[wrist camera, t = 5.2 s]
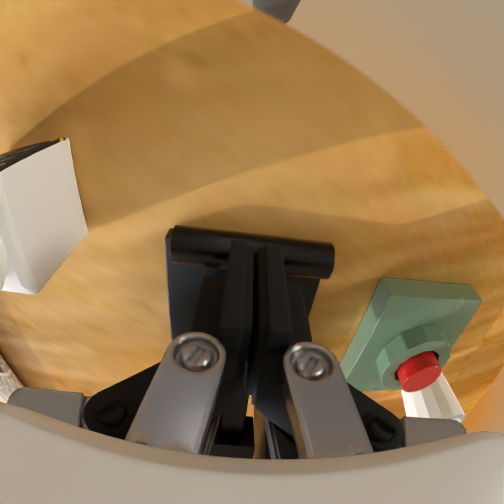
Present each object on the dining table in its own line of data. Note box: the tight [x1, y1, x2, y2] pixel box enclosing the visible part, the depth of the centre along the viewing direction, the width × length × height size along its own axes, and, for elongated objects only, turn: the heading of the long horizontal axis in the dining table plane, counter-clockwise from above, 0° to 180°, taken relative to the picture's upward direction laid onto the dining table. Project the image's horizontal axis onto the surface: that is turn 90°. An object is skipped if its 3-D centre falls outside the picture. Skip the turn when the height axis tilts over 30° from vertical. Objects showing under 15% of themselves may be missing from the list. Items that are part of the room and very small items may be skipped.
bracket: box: [165, 228, 320, 459], centre depth 17 cm, size 12×10×13 cm
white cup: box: [402, 372, 465, 423], centre depth 26 cm, size 7×7×7 cm
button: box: [397, 351, 441, 392], centre depth 20 cm, size 4×4×2 cm
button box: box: [339, 277, 482, 391], centre depth 22 cm, size 12×10×4 cm
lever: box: [169, 225, 335, 459], centre depth 12 cm, size 12×6×2 cm, turn 174°
